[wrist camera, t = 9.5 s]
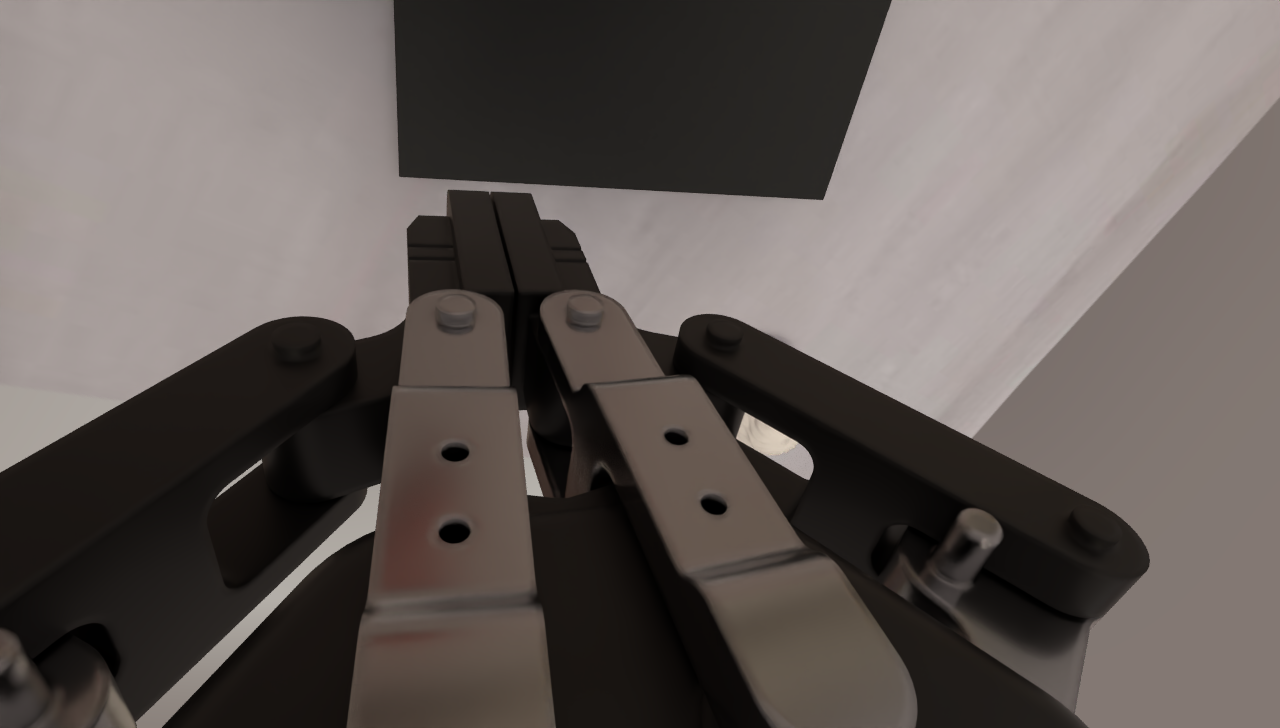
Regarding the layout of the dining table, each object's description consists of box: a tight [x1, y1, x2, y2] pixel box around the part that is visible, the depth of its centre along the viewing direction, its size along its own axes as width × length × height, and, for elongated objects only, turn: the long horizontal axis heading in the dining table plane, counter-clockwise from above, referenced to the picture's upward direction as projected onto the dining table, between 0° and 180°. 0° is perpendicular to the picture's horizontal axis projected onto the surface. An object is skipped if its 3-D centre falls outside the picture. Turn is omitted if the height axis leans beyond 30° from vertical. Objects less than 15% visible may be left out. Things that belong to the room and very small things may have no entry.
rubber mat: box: [394, 0, 892, 200], centre depth 31 cm, size 14×22×1 cm, turn 81°
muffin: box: [736, 413, 798, 456], centre depth 42 cm, size 6×6×7 cm
